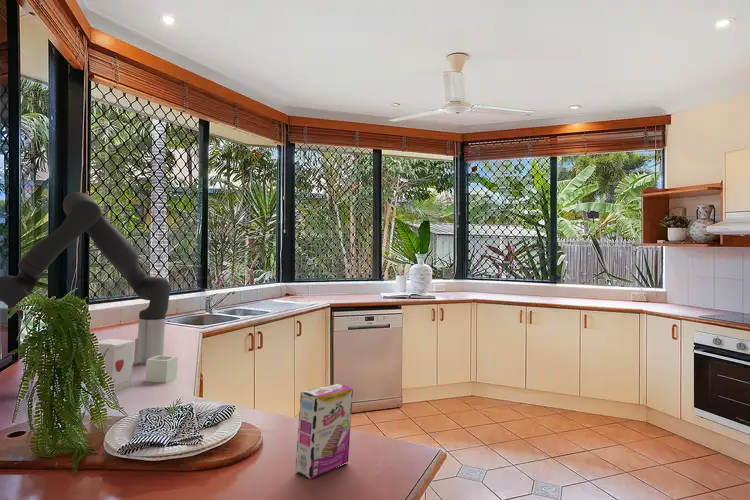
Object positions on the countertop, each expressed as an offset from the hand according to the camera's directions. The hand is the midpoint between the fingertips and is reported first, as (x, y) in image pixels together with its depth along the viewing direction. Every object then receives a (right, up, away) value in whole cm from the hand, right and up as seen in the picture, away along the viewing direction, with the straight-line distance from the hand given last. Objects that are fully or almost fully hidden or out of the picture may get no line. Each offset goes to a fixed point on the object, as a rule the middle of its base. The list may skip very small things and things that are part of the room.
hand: (80, 369), depth 148 cm
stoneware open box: (+20, -7, +11) cm, 24 cm away
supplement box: (+9, -7, -1) cm, 11 cm away
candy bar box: (+80, -9, -48) cm, 94 cm away
